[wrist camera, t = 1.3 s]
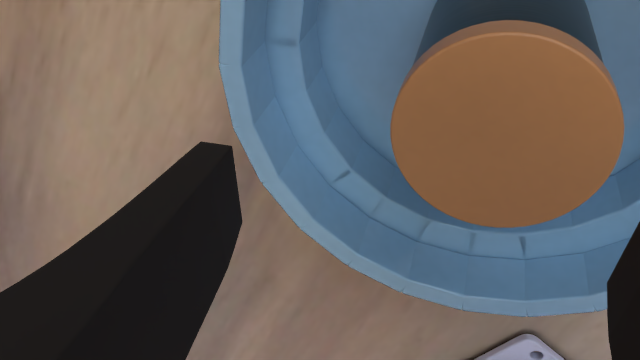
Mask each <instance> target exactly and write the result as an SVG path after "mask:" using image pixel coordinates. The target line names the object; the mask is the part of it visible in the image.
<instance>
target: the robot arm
mask: <svg viewBox="0 0 640 360" xmlns="http://www.w3.org/2000/svg"><path fill="white" fill-rule="evenodd" d="M241 225H242V216H241V208H240V201H239V194H238V186H237V179H236V172H235V164H234V157H233V150H232V146H228V145H221V144H214V143H207V142H200V143H199V144H197V145H196V146H195V147H194V148H193V149H191V150H190V151H189V152H188V153H187V154H185V155H184V156H183V157H182V158H181V159H180V160H178V161H177V162H176V163H175V164H174V165H173V166H171V167H170V168H169V169H168V170H167V171H166V172H164V173H163V174H162V175H161V176H160V177H159V178H157V179H156V180H155V181H154V182H153V183H152V184H150V185H149V186H148V187H147V188H146V189H145V190H143V191H142V192H141V193H140V194H138V195H137V196H136V197H135V198H134V199H132V200H131V201H130V202H129V203H128V204H126V205H125V206H124V207H123V208H121V209H120V210H119V211H118V212H117V213H115V214H114V215H113V216H112V217H110V218H109V219H108V220H106V221H105V222H104V223H102V224H101V225H100V226H98V227H97V228H96V229H94V230H93V231H92V232H90V233H89V234H88V235H86V236H85V237H84V238H82V239H81V240H80V241H78V242H77V243H76V244H74V245H73V246H72V247H70V248H69V249H68V250H66V251H65V252H63V253H62V254H60V255H59V256H57V257H56V258H55V259H53V260H52V261H50V262H49V263H47V264H46V265H44V266H43V267H41V268H40V269H38V270H36V271H35V272H33V273H32V274H30V275H28V276H27V277H25V278H24V279H22V280H21V281H19V282H17V283H16V284H14V285H12V286H11V287H9V288H7V289H6V290H4V291H2V292H1V293H0V360H185V359H186V357H187V355H188V353H189V351H190V349H191V347H192V344H193V342H194V340H195V338H196V336H197V334H198V332H199V329H200V327H201V325H202V323H203V321H204V319H205V317H206V314H207V312H208V310H209V308H210V306H211V304H212V302H213V299H214V297H215V295H216V293H217V291H218V289H219V286H220V284H221V282H222V280H223V278H224V275H225V273H226V271H227V269H228V266H229V263H230V260H231V257H232V254H233V251H234V248H235V244H236V241H237V238H238V234H239V231H240V228H241ZM607 314H608V334H609V343H610V349H611V355H612V360H640V221H639V223H638V225H637V227H636V229H635V231H634V233H633V235H632V236H631V238H630V240H629V242H628V244H627V246H626V248H625V250H624V251H623V253H622V255H621V257H620V259H619V261H618V263H617V265H616V266H615V268H614V270H613V272H612V274H611V276H610V278H609V280H608V281H607ZM533 351H539V352H533ZM474 360H565V359H563V358H562V357H561V356H560V355H558V354H557V353H556V352H555V351H554V350H552V349H551V348H550V347H549V346H547V345H546V344H545V343H544V342H543V341H541V340H540V339H539V338H538V337H536V336H534V335H531V334H522V335H519V336H517V337H516V338H514V339H512V340H510V341H508V342H506V343H504V344H502V345H500V346H498V347H496V348H495V349H493V350H491V351H489V352H487V353H485V354H483V355H481V356H479V357H477V358H476V359H474Z"/></svg>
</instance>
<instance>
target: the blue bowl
mask: <svg viewBox="0 0 640 360" xmlns="http://www.w3.org/2000/svg"><path fill="white" fill-rule="evenodd" d="M437 1H438V0H221V1H220V38H219V63H220V64H219V69H220V73H221V77H222V82H223V86H224V90H225V95H226V99H227V103H228V108H229V112H230V116H231V121H232V125H233V127H234V131H235V133H236V135H237V136H238V138H239V140H240V142H241V144H242V146H243V148H244V150H245V152H246V154H247V156H248V158H249V160H250V162H251V164H252V166H253V168H254V170H255V172H256V174H257V176H258V178H259V180H260V182H262V184H263V185H264V187H265V188H266V189H267V190H268V191H269V193H270V194H271V195H272V196H273V197H274V199H275V200H276V201H277V202H278V203H279V205H280V206H281V207H282V208H283V209H284V211H285V212H286V213H287V214H288V215H289V217H290V218H291V219H292V220H293V221H294V223H295V224H296V225H297V226H298V227H299V228H301V230H302V231H303V232H304V233H306V234H307V235H308V236H309V237H311V238H312V239H313V240H315V241H316V242H317V243H318V244H320V245H321V246H322V247H324V248H325V249H326V250H327V251H329V252H330V253H331V254H332V255H334V256H335V257H336V258H338V259H339V260H340V261H341V262H343V263H344V264H345V265H348V266H349V267H350V268H352V269H354V270H356V271H358V272H360V273H362V274H364V275H366V276H368V277H370V278H372V279H374V280H376V281H378V282H380V283H382V284H384V285H386V286H388V287H390V288H392V289H394V290H396V291H398V292H402V293H403V294H406V295H410V296H413V297H417V298H420V299H424V300H427V301H431V302H434V303H438V304H441V305H444V306H448V307H451V308H455V309H458V310H461V309H462V310H463V311H470V312H480V313H490V314H500V315H510V316H520V317H526V316H528V317H536V316H548V315H561V314H574V313H586V312H595V310H596V311H602V310H605V309H607V281H608V280H609V278H610V276H611V274H612V272H613V270H614V268H615V266H616V265H617V263H618V261H619V259H620V257H621V255H622V253H623V251H624V250H625V248H626V246H627V244H628V242H629V240H630V238H631V236H632V235H633V233H634V231H635V229H636V227H637V225H638V223H639V221H640V0H585V3H586V5H587V8H588V11H589V15H590V18H591V22H592V25H593V29H594V32H595V35H596V39H597V42H598V46H599V49H600V53H601V56H602V60H603V63H604V65H605V67H606V68H607V70H608V72H609V73H610V75H611V77H612V79H613V82H614V84H615V86H616V89H617V93H618V96H619V99H620V103H621V107H622V111H623V116H624V140H623V145H622V149H621V153H620V156H619V158H618V160H617V163H616V165H615V167H614V169H613V171H612V172H611V174H610V176H609V177H608V179H607V180H606V181H605V182H604V184H603V185H602V186H601V187H600V189H599V190H598V191H597V192H596V193H595V194H594V195H592V196H591V197H590V198H589V199H588V200H587V201H585V202H584V203H583V204H581V205H580V206H578V207H577V208H575V209H574V210H572V211H570V212H568V213H566V214H565V215H562V216H560V217H558V218H555V219H553V220H550V221H547V222H543V223H540V224H536V225H530V226H525V227H514V228H496V227H486V226H480V225H476V224H471V223H468V222H465V221H461V220H458V219H456V218H454V217H451V216H449V215H447V214H445V213H443V212H441V211H440V210H438V209H436V208H434V207H433V206H432V205H430V204H429V203H428V202H426V201H425V200H424V199H423V198H422V197H421V196H420V195H418V194H417V193H416V192H415V191H414V189H413V188H412V187H411V186H410V185H409V183H408V182H407V181H406V179H405V177H404V176H403V174H402V173H401V171H400V169H399V167H398V164H397V162H396V160H395V157H394V153H393V150H392V145H391V138H390V123H391V117H392V111H393V108H394V105H395V101H396V98H397V96H398V93H399V90H400V88H401V86H402V83H403V81H404V79H405V77H406V75H407V74H408V72H409V71H410V69H411V68H412V66H413V63H414V61H415V58H416V55H417V52H418V49H419V46H420V44H421V41H422V38H423V35H424V32H425V29H426V27H427V24H428V21H429V18H430V15H431V13H432V10H433V8H434V6H435V4H436V2H437Z"/></svg>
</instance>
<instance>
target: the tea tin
mask: <svg viewBox="0 0 640 360" xmlns="http://www.w3.org/2000/svg"><path fill="white" fill-rule="evenodd" d="M390 138H391V145H392V150H393V153H394V157H395V160H396V162H397V164H398V167H399V169H400V171H401V173H402V174H403V176H404V177H405V179H406V181H407V182H408V183H409V185H410V186H411V187H412V188H413V189H414V191H415V192H416V193H417V194H418V195H420V196H421V197H422V198H423V199H424V200H425V201H426V202H428V203H429V204H430V205H432V206H433V207H434V208H436V209H438V210H440V211H441V212H443V213H445V214H447V215H449V216H451V217H454V218H456V219H458V220H461V221H465V222H468V223H471V224H476V225H480V226H486V227H496V228H514V227H525V226H530V225H536V224H540V223H543V222H547V221H550V220H553V219H555V218H558V217H560V216H562V215H565V214H566V213H568V212H570V211H572V210H574V209H575V208H577V207H578V206H580V205H581V204H583V203H584V202H585V201H587V200H588V199H589V198H590V197H591V196H592V195H594V194H595V193H596V192H597V191H598V190H599V189H600V187H601V186H602V185H603V184H604V182H605V181H606V180H607V179H608V177H609V176H610V174H611V172H612V171H613V169H614V167H615V165H616V163H617V160H618V158H619V156H620V153H621V149H622V145H623V140H624V116H623V111H622V107H621V103H620V99H619V96H618V93H617V89H616V86H615V84H614V82H613V79H612V77H611V75H610V73H609V72H608V70H607V68H606V67H605V65H604V63H603V60H602V56H601V53H600V49H599V46H598V42H597V39H596V35H595V32H594V29H593V25H592V22H591V18H590V15H589V11H588V8H587V5H586V3H585V0H438V1H437V2H436V4H435V6H434V8H433V10H432V13H431V15H430V18H429V21H428V24H427V27H426V29H425V32H424V35H423V38H422V41H421V44H420V46H419V49H418V52H417V55H416V58H415V61H414V63H413V66H412V68H411V69H410V71H409V72H408V74H407V75H406V77H405V79H404V81H403V83H402V86H401V88H400V90H399V93H398V96H397V98H396V101H395V105H394V108H393V111H392V117H391V123H390Z"/></svg>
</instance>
